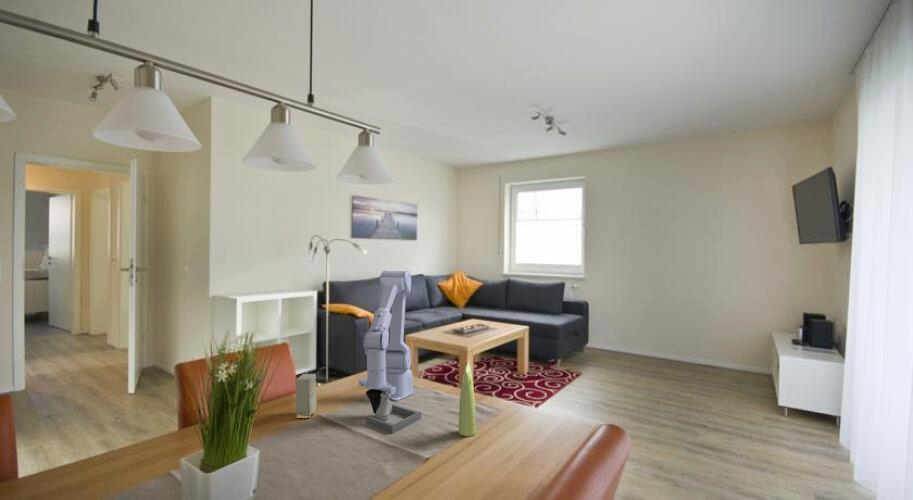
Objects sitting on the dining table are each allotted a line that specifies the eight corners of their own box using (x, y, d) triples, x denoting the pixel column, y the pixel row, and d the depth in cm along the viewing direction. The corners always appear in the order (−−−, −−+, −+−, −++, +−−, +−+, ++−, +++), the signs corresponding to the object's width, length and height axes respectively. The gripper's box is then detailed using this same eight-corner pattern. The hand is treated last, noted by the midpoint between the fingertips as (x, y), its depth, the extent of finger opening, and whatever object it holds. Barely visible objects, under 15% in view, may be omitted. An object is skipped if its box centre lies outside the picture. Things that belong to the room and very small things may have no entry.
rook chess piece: (384, 411, 132) (387, 387, 131) (392, 418, 129) (396, 394, 128) (372, 415, 129) (375, 390, 128) (380, 422, 126) (383, 397, 125)
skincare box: (309, 419, 129) (309, 379, 129) (295, 419, 129) (294, 379, 129) (317, 410, 136) (316, 373, 135) (303, 410, 136) (302, 373, 135)
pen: (394, 410, 135) (394, 404, 135) (421, 418, 129) (421, 412, 129) (365, 424, 125) (365, 417, 125) (392, 433, 119) (392, 426, 119)
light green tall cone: (481, 434, 118) (480, 365, 117) (466, 439, 115) (465, 368, 114) (469, 427, 122) (468, 360, 122) (454, 431, 119) (454, 363, 119)
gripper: (350, 368, 132) (351, 411, 132) (383, 376, 123) (384, 422, 124) (367, 363, 138) (368, 404, 138) (400, 370, 129) (400, 414, 129)
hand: (377, 412), depth 131 cm, fingers closed
